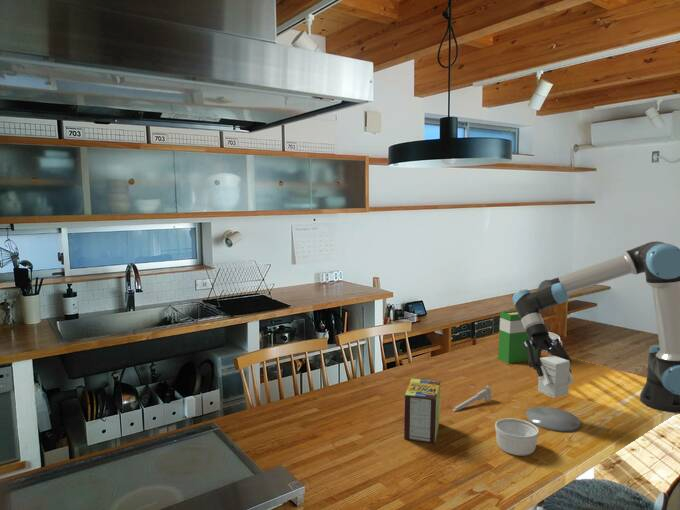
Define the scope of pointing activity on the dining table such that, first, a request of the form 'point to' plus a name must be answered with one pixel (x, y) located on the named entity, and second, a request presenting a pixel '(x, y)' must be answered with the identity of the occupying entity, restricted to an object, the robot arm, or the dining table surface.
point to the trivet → (553, 419)
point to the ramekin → (516, 436)
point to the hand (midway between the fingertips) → (559, 383)
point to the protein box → (422, 410)
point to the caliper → (475, 398)
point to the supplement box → (555, 376)
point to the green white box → (512, 338)
